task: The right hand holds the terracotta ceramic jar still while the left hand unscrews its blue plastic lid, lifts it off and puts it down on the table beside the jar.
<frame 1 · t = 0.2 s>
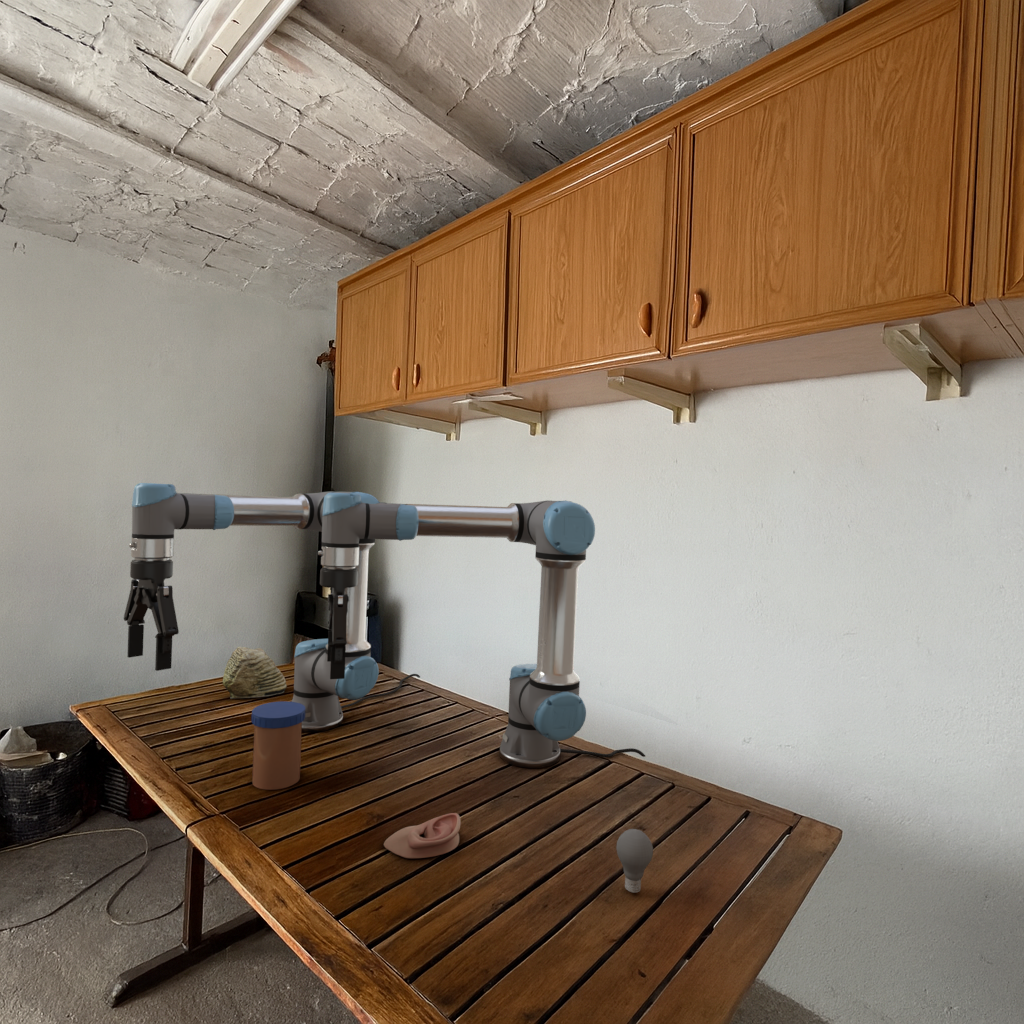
left hand: (148, 662, 129), 28 cm above the table, tool pointing down, fingers open, 13 cm apart
right hand: (335, 669, 131), 28 cm above the table, tool pointing down, fingers open, 13 cm apart
lid: (278, 710, 141), point 15 cm above the table, screwed on, not yet turned
light bulb: (632, 891, 106), on the table
anatomical model: (422, 843, 117), on the table
fossil: (254, 694, 198), on the table
jar: (276, 779, 141), on the table
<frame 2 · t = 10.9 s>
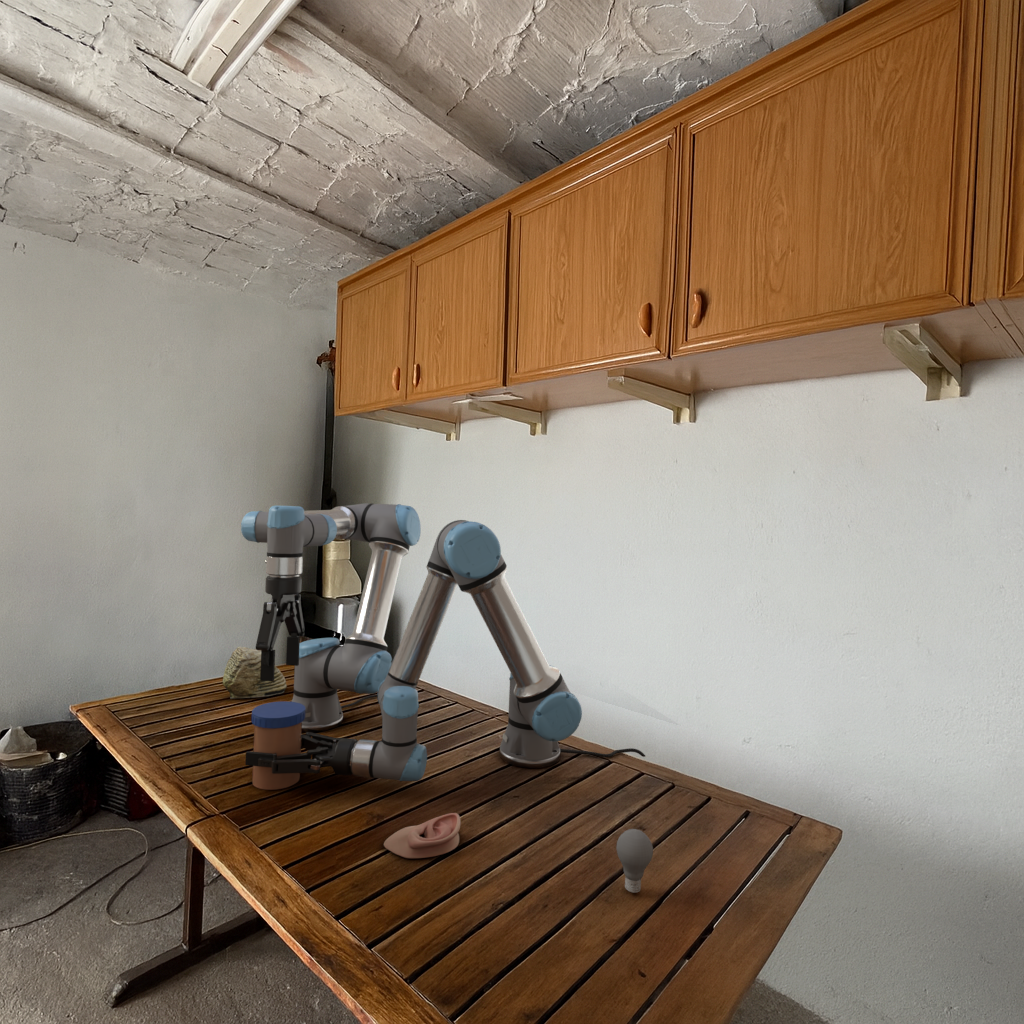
left hand: (280, 672, 140), 24 cm above the table, tool pointing down, fingers open, 12 cm apart
right hand: (259, 748, 141), 7 cm above the table, tool horizontal, fingers closed on jar, 10 cm apart
jar: (276, 779, 141), on the table, touching right hand
everything else where it was.
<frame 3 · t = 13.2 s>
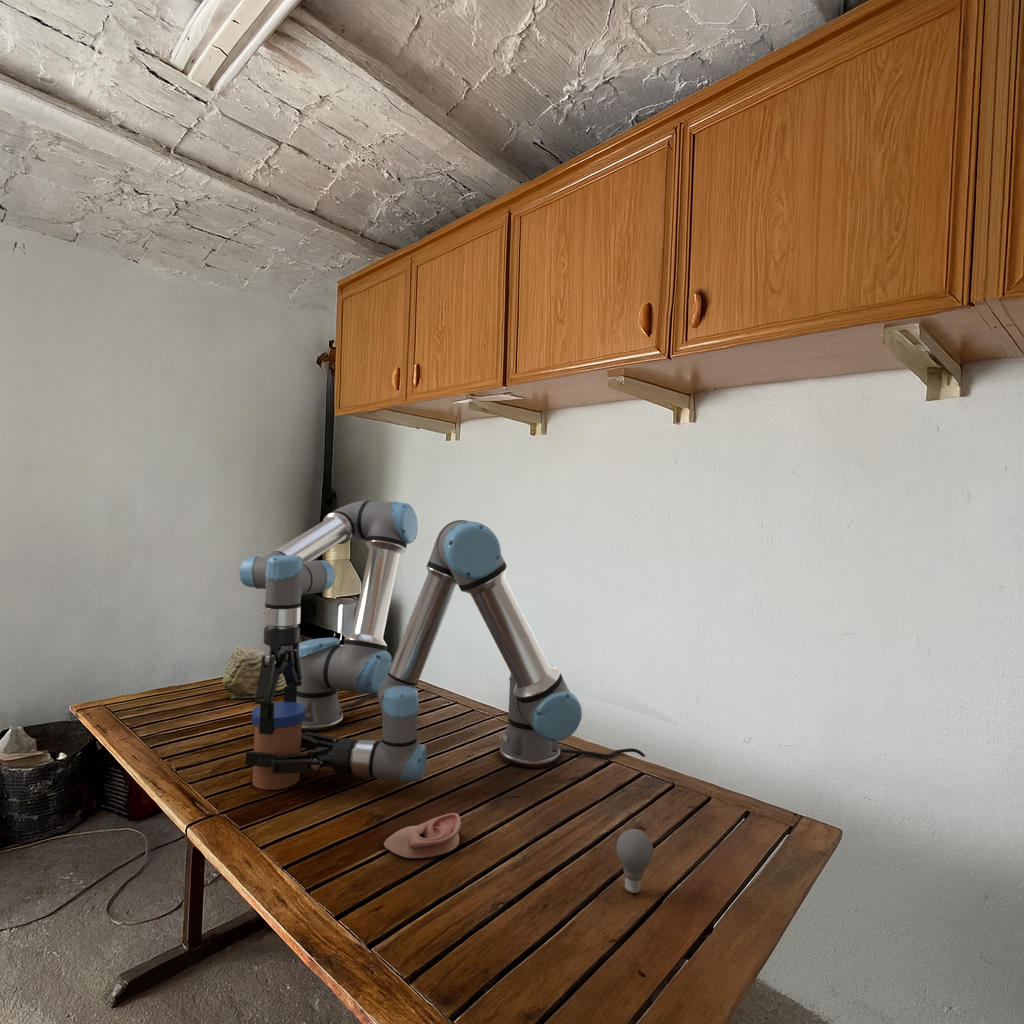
left hand: (278, 723, 141), 12 cm above the table, tool pointing down, fingers closed on lid, 11 cm apart
right hand: (259, 748, 141), 7 cm above the table, tool horizontal, fingers closed on jar, 10 cm apart
lid: (279, 710, 141), point 15 cm above the table, screwed on, not yet turned, touching left hand
jar: (276, 779, 141), on the table, touching right hand
everything else where it was.
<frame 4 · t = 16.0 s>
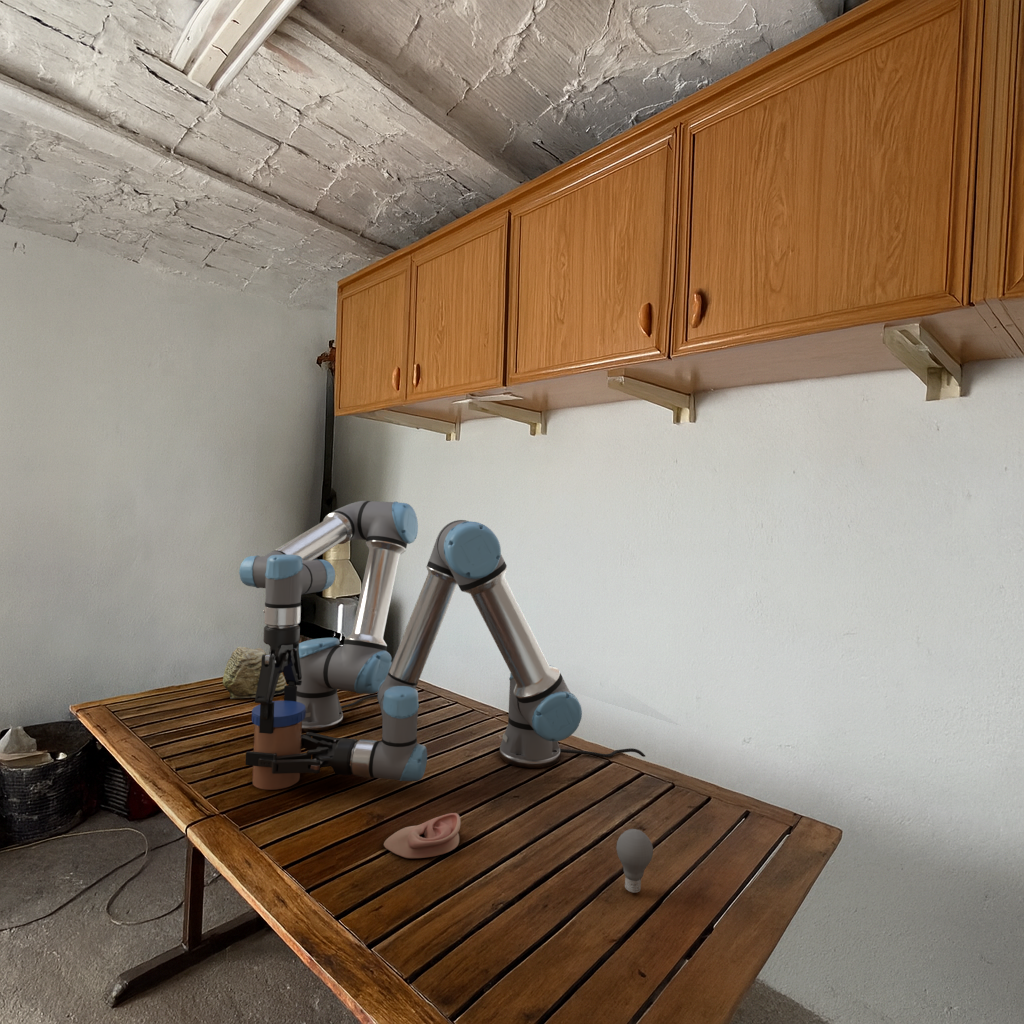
left hand: (278, 723, 141), 13 cm above the table, tool pointing down, fingers closed on lid, 11 cm apart
right hand: (259, 748, 141), 7 cm above the table, tool horizontal, fingers closed on jar, 10 cm apart
lid: (279, 710, 141), point 16 cm above the table, turned 59° so far, risen 0.2 cm, still on its thread, touching left hand
jar: (276, 779, 141), on the table, touching right hand
everything else where it was.
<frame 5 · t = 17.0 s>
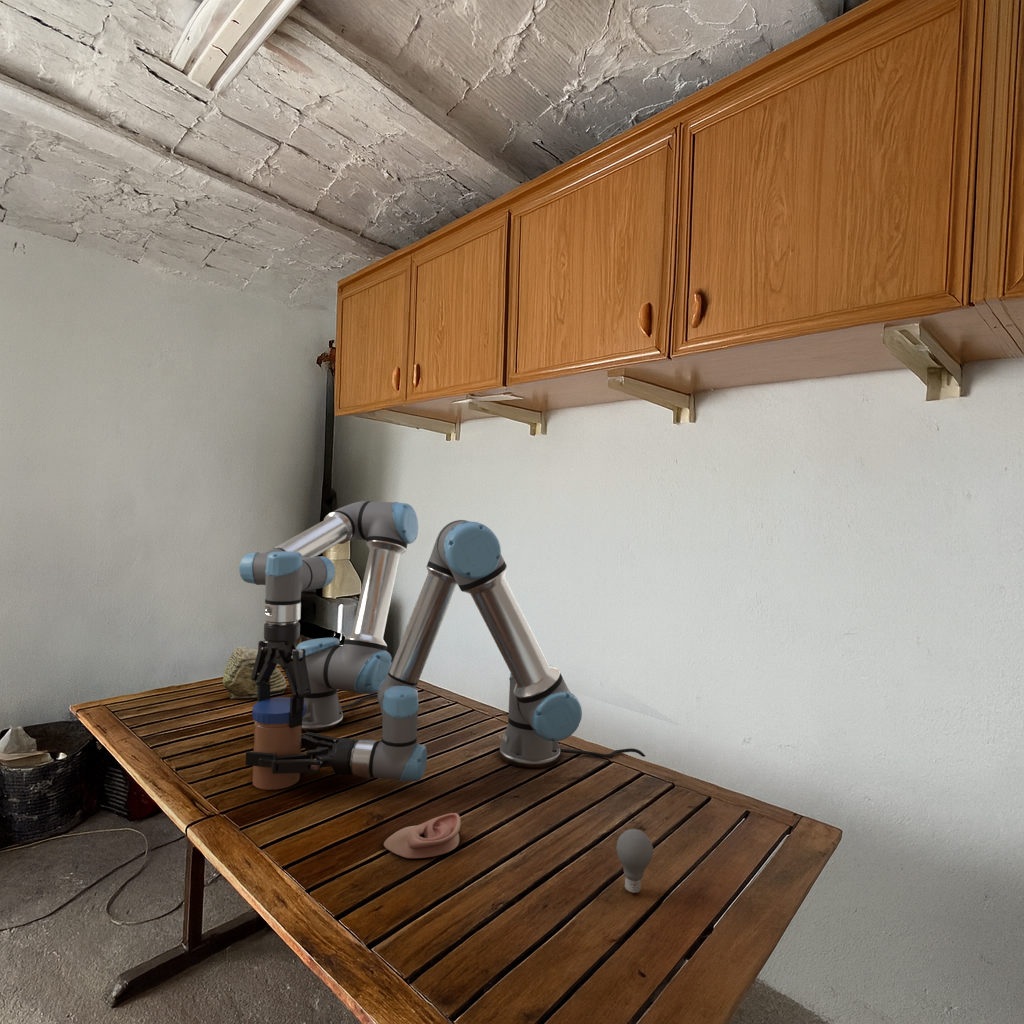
left hand: (279, 719, 141), 13 cm above the table, tool pointing down, fingers closed on lid, 11 cm apart
right hand: (259, 748, 141), 7 cm above the table, tool horizontal, fingers closed on jar, 10 cm apart
lid: (279, 706, 141), point 16 cm above the table, off its thread, touching left hand
jar: (276, 779, 141), on the table, touching right hand
everything else where it was.
when the left hand's fingers open (0 cm above the table, at t = 22.3 s): lid drops 1 cm, point 2 cm above the table.
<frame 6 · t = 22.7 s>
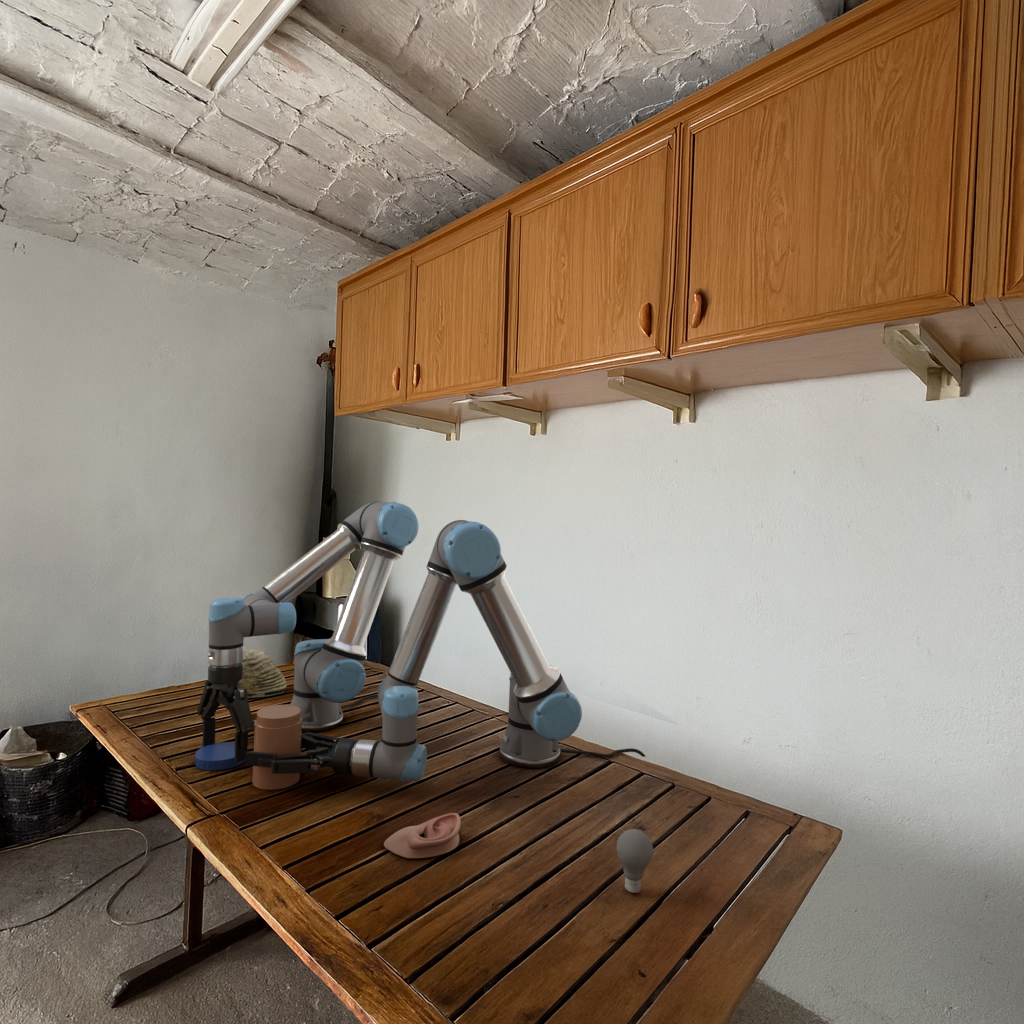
left hand: (224, 753, 150), 2 cm above the table, tool pointing down, fingers open, 13 cm apart
right hand: (259, 748, 141), 7 cm above the table, tool horizontal, fingers closed on jar, 10 cm apart
lid: (221, 752, 149), point 2 cm above the table, off its thread
jar: (276, 779, 141), on the table, touching right hand
everything else where it was.
when the right hand's fingers open (7 cm above the table, at t = 23.4 s): jar stays where it is, on the table.
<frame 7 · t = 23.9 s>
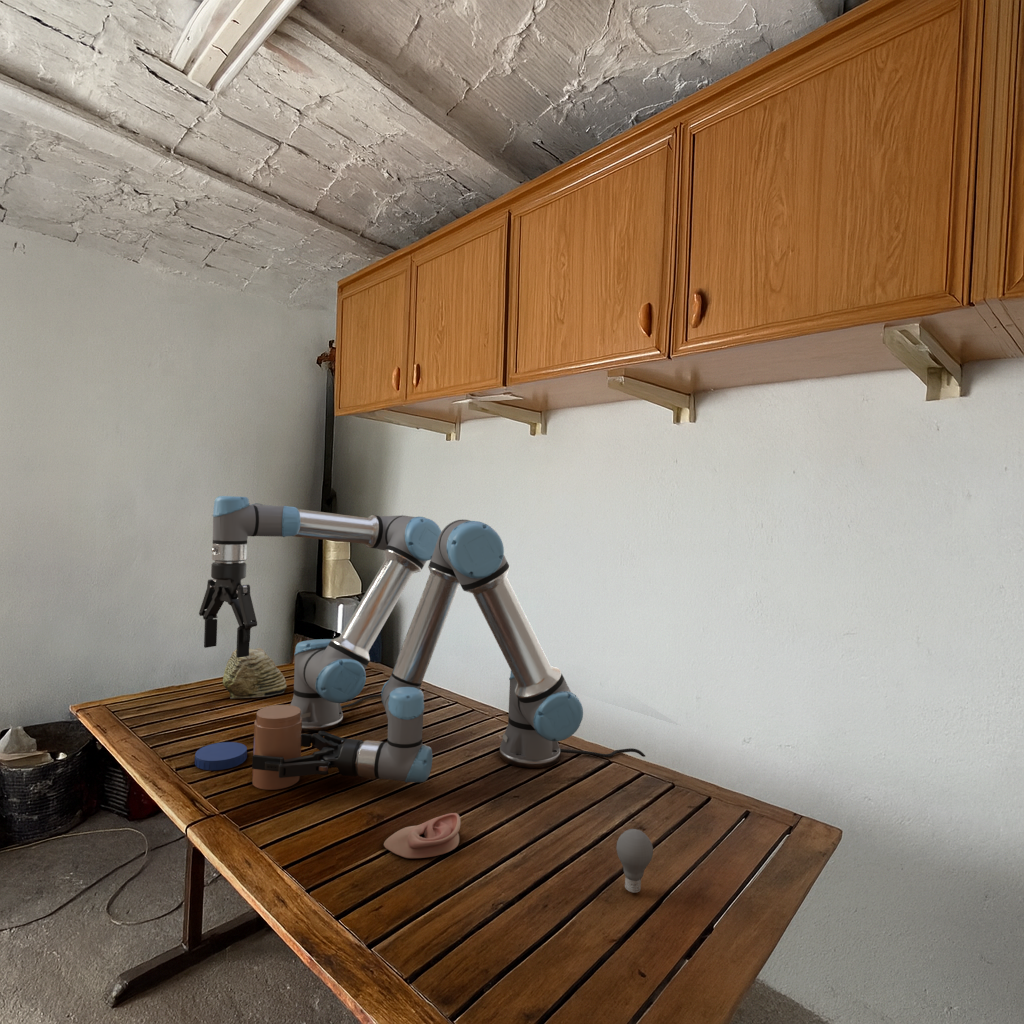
left hand: (226, 651, 149), 26 cm above the table, tool pointing down, fingers open, 13 cm apart
right hand: (268, 749, 141), 7 cm above the table, tool horizontal, fingers open, 13 cm apart
jar: (276, 779, 141), on the table
everything else where it was.
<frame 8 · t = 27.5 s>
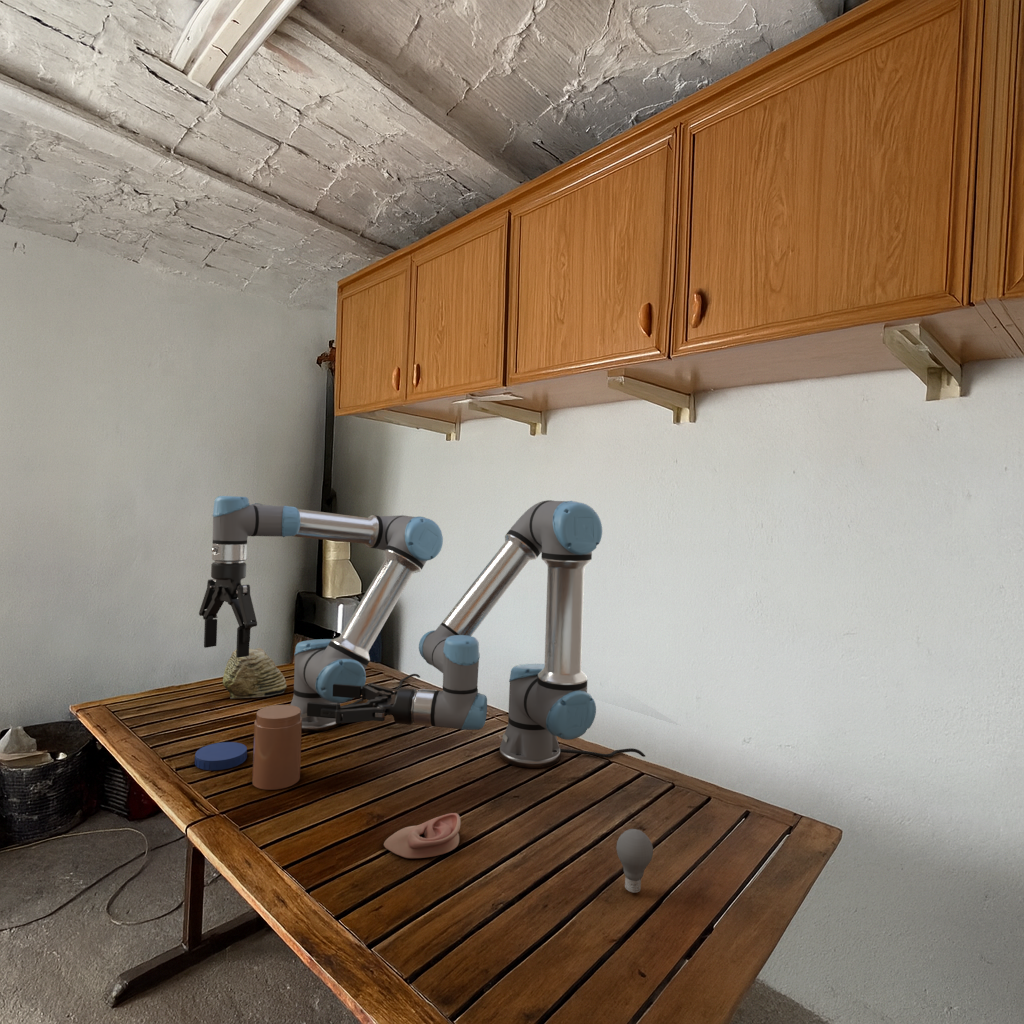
left hand: (225, 651, 149), 26 cm above the table, tool pointing down, fingers open, 13 cm apart
right hand: (321, 699, 139), 19 cm above the table, tool horizontal, fingers open, 13 cm apart
nothing on the table moved.
at the end: lid came off its thread; lid point 1.9 cm above the table; the left hand is holding nothing; the right hand is holding nothing; jar tilted 0°; jar moved 0.0 cm from its start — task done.
